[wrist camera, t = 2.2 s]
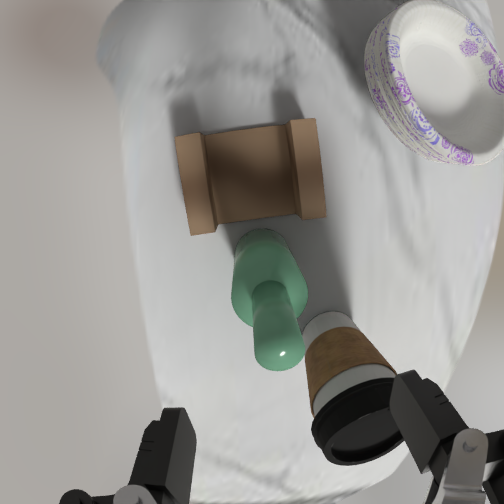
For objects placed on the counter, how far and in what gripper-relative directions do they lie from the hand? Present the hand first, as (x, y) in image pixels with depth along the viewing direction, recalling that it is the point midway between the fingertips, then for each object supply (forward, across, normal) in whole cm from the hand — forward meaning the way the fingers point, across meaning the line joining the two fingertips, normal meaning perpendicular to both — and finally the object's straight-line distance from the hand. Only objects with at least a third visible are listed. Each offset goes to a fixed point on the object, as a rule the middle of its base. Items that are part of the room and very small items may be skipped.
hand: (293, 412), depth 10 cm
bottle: (+19, 0, 0) cm, 19 cm away
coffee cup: (+19, -6, +10) cm, 22 cm away
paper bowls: (+19, -18, -15) cm, 30 cm away
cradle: (+19, 0, -8) cm, 20 cm away
